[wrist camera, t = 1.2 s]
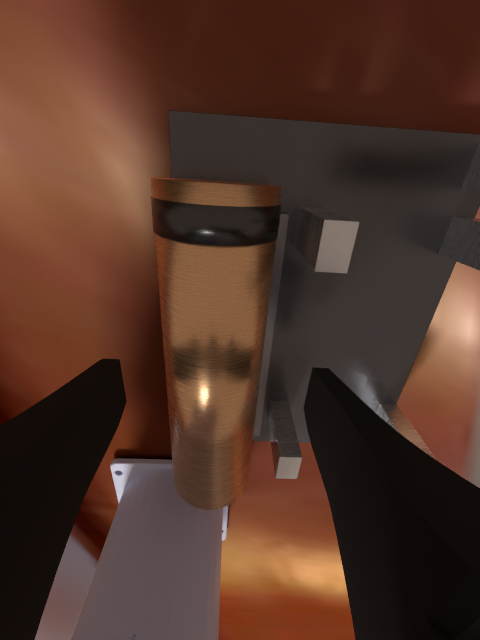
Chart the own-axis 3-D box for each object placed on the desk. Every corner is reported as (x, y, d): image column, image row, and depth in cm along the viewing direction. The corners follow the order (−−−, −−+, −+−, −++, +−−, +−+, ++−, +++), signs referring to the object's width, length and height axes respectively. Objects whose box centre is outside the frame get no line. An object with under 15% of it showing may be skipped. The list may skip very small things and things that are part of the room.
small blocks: (389, 424, 17) (425, 481, 13) (267, 420, 16) (275, 478, 13) (477, 218, 11) (569, 234, 8) (299, 207, 11) (324, 219, 8)
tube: (250, 442, 17) (247, 515, 13) (183, 435, 17) (162, 506, 13) (279, 184, 10) (289, 188, 7) (171, 176, 11) (125, 177, 7)
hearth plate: (372, 431, 18) (383, 451, 17) (178, 425, 18) (174, 445, 16) (486, 139, 11) (521, 134, 10) (161, 114, 10) (151, 106, 9)
